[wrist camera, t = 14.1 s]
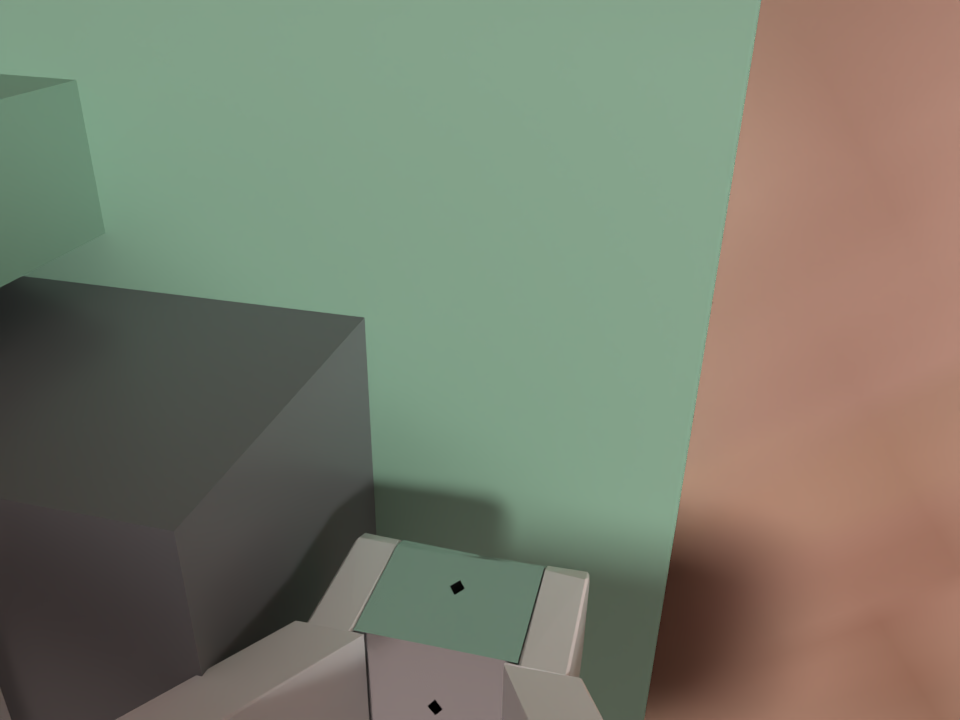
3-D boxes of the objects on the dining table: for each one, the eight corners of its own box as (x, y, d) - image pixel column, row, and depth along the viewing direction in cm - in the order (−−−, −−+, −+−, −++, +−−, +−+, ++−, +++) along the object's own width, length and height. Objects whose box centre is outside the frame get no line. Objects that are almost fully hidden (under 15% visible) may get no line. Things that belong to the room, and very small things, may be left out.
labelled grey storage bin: (364, 317, 11) (161, 546, 7) (380, 605, 14) (233, 902, 9) (-82, 263, 13) (-460, 426, 9) (2, 531, 15) (-266, 760, 11)
